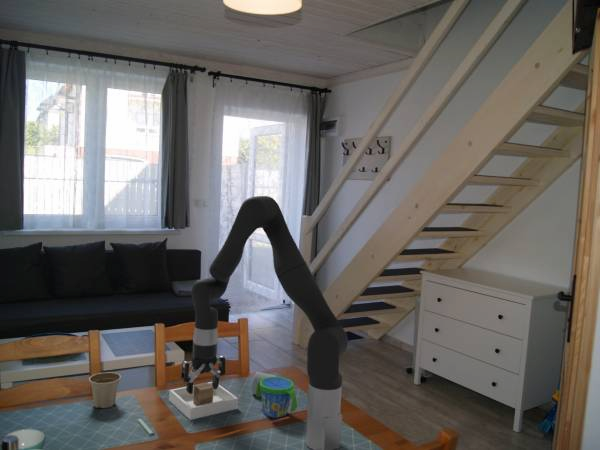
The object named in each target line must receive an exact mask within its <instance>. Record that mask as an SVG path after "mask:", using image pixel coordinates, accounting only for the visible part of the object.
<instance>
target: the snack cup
mask: <svg viewBox="0 0 600 450" xmlns="http://www.w3.org/2000/svg"><path fill="white" fill-rule="evenodd" d="M294 386H295V384H294V382H293V381H292V380H291V379H289V378H285V377H282V376H277V377H268V378H264V379H263V380H261V381H259V383H258V385H257V388H256V395H255V396H256V397H257V398H260V397H261V405H262V414H263V415H264V416H265V417H268V418H269V417H270V418H272V419H273V418H274V419H275V418H276V419H277V418H278V419H279V418H284V417H285V416H286V415H287V414H288V412H289V406H290V401H291V402H292V403H291V407H290V413H293V412H295V411H296V410H297V407H298V403H297V401H298V400H297V396H296V393H295V390H294ZM261 395H262V396H261Z"/></svg>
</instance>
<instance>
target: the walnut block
mask: <svg viewBox="0 0 600 450" xmlns="http://www.w3.org/2000/svg"><path fill="white" fill-rule="evenodd" d="M193 385H194V399H193V403H194V404H195V405H196V406H200V405H204V404H209V403H213V387H212V386H211V385H210V384H208V382H202V383H197V384H193Z"/></svg>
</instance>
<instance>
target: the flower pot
mask: <svg viewBox="0 0 600 450" xmlns="http://www.w3.org/2000/svg"><path fill="white" fill-rule="evenodd" d="M121 379H122V375H121V374H119V373H116V372H110V371H109V372H108V371H107V372H99V373H96V374H92V375H91V376H89V378H88V382H89V383H90V386H91V392H92V401H93V406H94V408H97V409H99V408H101V409H107V408H111V407H113V405H115V404H116V399H117V393H118V387H119V383H120V380H121Z"/></svg>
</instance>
